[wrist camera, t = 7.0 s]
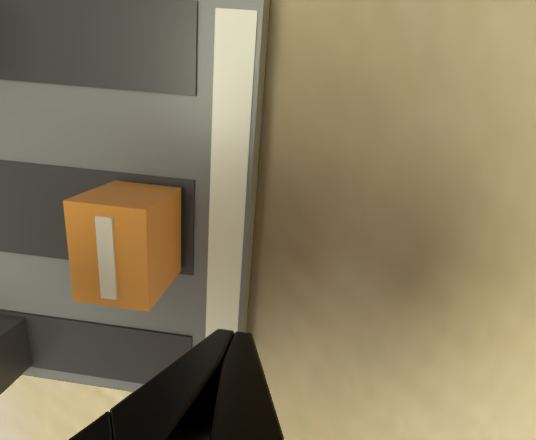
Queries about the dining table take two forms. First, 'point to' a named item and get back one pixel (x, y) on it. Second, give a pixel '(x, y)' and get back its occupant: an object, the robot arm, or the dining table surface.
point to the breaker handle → (123, 243)
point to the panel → (125, 172)
